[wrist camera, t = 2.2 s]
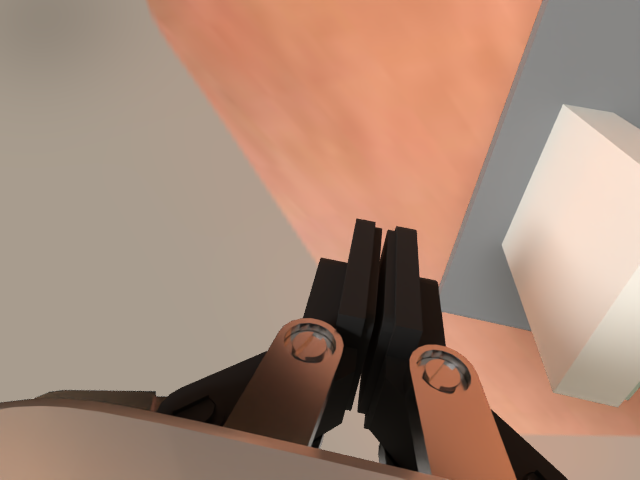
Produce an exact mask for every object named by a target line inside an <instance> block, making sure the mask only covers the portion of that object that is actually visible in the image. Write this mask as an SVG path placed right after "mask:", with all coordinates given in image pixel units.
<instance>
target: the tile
mask: <svg viewBox="0 0 640 480" xmlns="http://www.w3.org/2000/svg"><path fill="white" fill-rule="evenodd" d="M502 247H503V250H504V253H505V256H506V259H507V262H508V265H509V267H510V270H511V273H512V276H513V279H514V282H515V285H516V287H517V290H518V293H519V296H520V299H521V302H522V305H523V308H524V310H525V313H526V316H527V319H528V322H529V325H530V328H531V330H532V333H533V336H534V339H535V342H536V345H537V348H538V350H539V353H540V356H541V359H542V362H543V365H544V368H545V371H546V373H547V376H548V379H549V382H550V385H551V388H552V391H553V393H557V394H562V395H566V396H570V397H575V398H579V399H584V400H588V401H592V402H597V403H601V404H605V405H610V406H614V407H619V406H620V404H621V403H622V402H623V401H624V400H629V399H630V398H631V397H632V396H633V394H634V393H635V392H636V391H637V390H638V388H639V387H640V129H639V128H637V127H635V126H634V125H632V124H631V123H629V122H628V121H626V120H624V119H623V118H621V117H620V116H618V115H616V114H615V113H613V112H607V111H601V110H595V109H589V108H583V107H577V106H571V105H565V104H563V105H562V108H561V110H560V112H559V115H558V117H557V119H556V121H555V124H554V126H553V128H552V131H551V133H550V135H549V137H548V140H547V142H546V144H545V147H544V149H543V151H542V153H541V156H540V158H539V160H538V163H537V165H536V167H535V170H534V172H533V174H532V176H531V179H530V181H529V183H528V186H527V188H526V190H525V192H524V195H523V197H522V199H521V202H520V204H519V206H518V208H517V211H516V213H515V215H514V218H513V220H512V222H511V225H510V227H509V229H508V231H507V234H506V236H505V238H504V241H503V243H502Z"/></svg>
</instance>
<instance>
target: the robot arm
mask: <svg viewBox="0 0 640 480" xmlns="http://www.w3.org/2000/svg"><path fill="white" fill-rule="evenodd" d="M375 223H376V222H372V221H367V220H362V219H356V224H355V229H354V234H353V239H352V244H351V249H350V254H349V259H348V263H346V262H341V261H336V260H331V259H326V258H321V259H320V262H319V265H318V268H317V272H316V275H315V279H314V282H313V286H312V289H311V292H310V296H309V299H308V303H307V306H306V309H305V313H304V316H303V318H300V319H297V320H293V321H291V322H289V323H287V324H285V325H284V326H283V327H282V328H281V329H280V331H279V332H278V333H277V335H276V337H275V339H274V340H273V342H272V344H271V345H270V347H269V349H268V351H266V352H263V353H261V354H259V355H256V356H254V357H252V358H249V359H247V360H245V361H242V362H240V363H238V364H236V365H233V366H231V367H228V368H226V369H224V370H222V371H219V372H217V373H215V374H212V375H210V376H207V377H205V378H203V379H201V380H198V381H196V382H194V383H191V384H189V385H186V386H184V387H182V388H180V389H178V390H176V391H175V392H173V393H171V394H170V395H169V396H167V397H165V396H161V397H160V396H156V391H107V390H59V391H52V392H48V393H45V394H43V395H40V396H38V397H35V398H34V399H24V400H16V401H8V402H0V480H568V479H567V478H566V477H565V476H564V475H563V474H562V473H561V472H559V471H558V470H557V469H556V468H555V467H554V466H553V465H552V464H551V463H550V462H548V461H547V460H546V459H545V458H544V457H543V456H542V455H541V454H540V453H539V452H537V451H536V450H535V449H534V448H533V447H532V446H531V445H530V444H529V443H528V442H526V441H525V440H524V439H523V438H522V437H521V436H520V435H519V434H518V433H517V432H516V431H514V430H513V429H512V428H511V427H510V426H509V425H508V424H507V423H506V422H505V421H503V420H502V419H501V418H500V417H499V416H498V415H497V414H496V413H495V412H494V411H492V410H491V409H490V407H489V404H488V401H487V398H486V396H485V393H484V390H483V388H482V385H481V382H480V380H479V377H478V374H477V372H476V371H475V369H474V367H473V365H472V364H471V363H470V362H469V361H468V360H467V359H466V358H465V357H464V356H462V355H461V354H460V353H458V352H457V351H455V350H452V349H450V348H448V347H446V344H445V336H444V328H443V320H442V312H441V304H440V295H439V287H438V282H437V281H435V280H430V279H425V278H420V277H419V261H418V245H417V231H416V230H414V229H409V228H404V227H398V226H396V229H395V231H392V230H388V231H387V234H386V238H385V242H384V246H383V250H382V254H381V258H380V251H381V238H382V228H377V227H375ZM360 376H361V380H360V390H359V400H358V413H363V414H365V422H364V428H365V429H369V430H370V431H371V432H372V433H373V435H374V436H375V437H376V438H377V439H378V441H379V442H380V444H379V451H378V457H379V463H377V462H373V461H369V460H364V459H360V458H356V457H352V456H347V455H342V454H339V453H334V452H330V451H325V450H322V449H320V447H321V445H322V442H323V437H324V434H325V433H326V432H328V431H329V430H331V429H333V428H334V427H336V426H338V425H339V424H341V423H342V420H343V417H344V413H345V410H349V411H351V409H352V405H353V402H354V398H355V394H356V390H357V387H358V383H359V379H360Z"/></svg>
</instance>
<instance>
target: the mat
mask: <svg viewBox="0 0 640 480" xmlns="http://www.w3.org/2000/svg"><path fill="white" fill-rule="evenodd" d="M563 104H565V105H571V106H577V107H583V108H589V109H595V110H601V111H607V112H613V113H615V114H616V115H618V116H620V117H621V118H623V119H624V120H626V121H628V122H629V123H631V124H632V125H634V126H635V127H637V128H639V129H640V0H543V1H542V4H541V6H540V9H539V12H538V15H537V18H536V20H535V23H534V26H533V29H532V31H531V34H530V37H529V40H528V42H527V45H526V48H525V51H524V53H523V56H522V59H521V62H520V65H519V67H518V70H517V73H516V76H515V78H514V81H513V84H512V87H511V89H510V92H509V95H508V98H507V100H506V103H505V106H504V109H503V111H502V114H501V117H500V120H499V123H498V125H497V128H496V131H495V134H494V136H493V139H492V142H491V145H490V147H489V150H488V153H487V156H486V158H485V161H484V164H483V167H482V170H481V172H480V175H479V178H478V181H477V183H476V186H475V189H474V192H473V194H472V197H471V200H470V203H469V205H468V208H467V211H466V214H465V217H464V219H463V222H462V225H461V228H460V230H459V233H458V236H457V239H456V241H455V244H454V247H453V250H452V252H451V255H450V258H449V261H448V263H447V266H446V269H445V272H444V275H443V277H442V280H441V283H440V286H439V295H440V304H441V312H446V313H450V314H455V315H460V316H464V317H469V318H473V319H478V320H483V321H487V322H492V323H496V324H501V325H506V326H510V327H515V328H519V329H524V330H529V331H532V330H531V328H530V325H529V322H528V319H527V316H526V313H525V310H524V308H523V305H522V302H521V299H520V296H519V293H518V290H517V287H516V285H515V282H514V279H513V276H512V273H511V270H510V267H509V265H508V262H507V259H506V256H505V253H504V250H503V247H502V243H503V241H504V238H505V236H506V234H507V231H508V229H509V227H510V225H511V222H512V220H513V218H514V215H515V213H516V211H517V208H518V206H519V204H520V202H521V199H522V197H523V195H524V192H525V190H526V188H527V186H528V183H529V181H530V179H531V176H532V174H533V172H534V170H535V167H536V165H537V163H538V160H539V158H540V156H541V153H542V151H543V149H544V147H545V144H546V142H547V140H548V137H549V135H550V133H551V131H552V128H553V126H554V124H555V121H556V119H557V117H558V115H559V112H560V110H561V108H562V105H563Z"/></svg>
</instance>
